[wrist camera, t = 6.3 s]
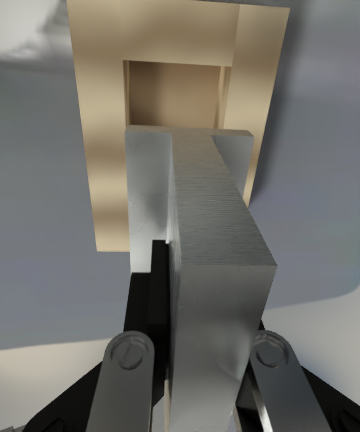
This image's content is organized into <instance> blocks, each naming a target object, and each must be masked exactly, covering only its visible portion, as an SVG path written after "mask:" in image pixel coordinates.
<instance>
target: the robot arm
mask: <svg viewBox="0 0 360 432" xmlns="http://www.w3.org/2000/svg"><path fill="white" fill-rule="evenodd" d="M170 325H171V314H170V274H169V243H166V240H152V254H151V271H150V272H132V274H131V281H130V288H129V295H128V302H127V309H126V316H125V323H124V330H123V333H120V334H118V335H117V336H115V337H114V338H113V339H112V340H111V341H110V342H109V344H108V345H107V348H106V350H105V354H104V358H103V361H102V362H100V363H99V364H98V365H97V366H95V367H94V368H93V369H92V370H90V371H89V372H88V373H87V374H86V375H84V376H83V377H82V378H80V379H79V380H78V381H77V382H76V383H74V384H73V385H72V386H71V387H69V388H68V389H67V390H66V391H64V392H63V393H62V394H61V395H59V396H58V397H57V398H56V399H55V400H53V401H52V402H51V403H50V404H48V405H47V406H46V407H45V408H43V409H42V410H41V411H40V412H38V413H37V414H36V415H35V416H34V417H33V418H32V419H31V420H30V421H29V422H28V423H27V424H26V425H24V426H21V427H18V428H16V429H14V428H13V426H11V427H9V428H6V429H3V430H1V431H0V432H152V421H153V407H154V406H155V405H156V404H157V402H158V401H159V400H160V399H161V398H162V397H163V396H164V388H165V380H167V378H168V361H169V344H170ZM232 412H233V416H234V421H235V425H236V430H237V432H360V406H359V405H358V404H356V403H355V402H353V401H352V400H350V399H349V398H347V397H346V396H345V395H343V394H342V393H340V392H339V391H337V390H336V389H334V388H333V387H332V386H330V385H329V384H327V383H326V382H324V381H322V380H321V379H320V378H319V377H317V376H316V375H314V374H313V373H311V372H310V371H308V370H307V369H306V368H304V367H303V366H301V365H300V363H299V361H298V359H297V357H296V355H295V353H294V351H293V349H292V347H291V345H290V344H289V342H287V341H286V340H285V339H284V338H283V337H282V336H280V335H279V334H277V333H275V332H272V331H269V330H265V328H264V325H263V322H262V320H261V321H260V324H259V327H258V330H257V334H256V337H255V340H254V343H253V347H252V350H251V353H250V356H249V360H248V363H247V366H246V369H245V373H244V376H243V379H242V382H241V386H240V389H239V392H238V395H237V398H236V402H235V405H234V408H233V411H232Z"/></svg>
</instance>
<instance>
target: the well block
mask: <svg viewBox="0 0 360 432" xmlns="http://www.w3.org/2000/svg"><path fill="white" fill-rule="evenodd" d="M66 1H67V9H68V17H69V25H70V33H71V41H72V50H73V58H74V66H75V74H76V82H77V90H78V98H79V106H80V115H81V123H82V131H83V139H84V147H85V155H86V163H87V171H88V179H89V188H90V196H91V204H92V212H93V220H94V228H95V236H96V244H97V251H130V239H129V217H128V195H127V173H126V151H125V129H126V127H127V125H144V126H166V127H188V128H211V129H233V130H248V131H249V132H250V133H251V134H252V135H253V136H254V137H255V138H254V143H253V148H252V153H251V158H250V163H249V169H248V174H247V179H246V184H245V189H244V194H243V200H244V202H245V204H246V206H247V208H248V205H249V200H250V196H251V191H252V186H253V181H254V177H255V172H256V167H257V162H258V158H259V153H260V148H261V144H262V139H263V134H264V129H265V125H266V120H267V115H268V110H269V106H270V101H271V96H272V92H273V87H274V82H275V77H276V73H277V68H278V63H279V58H280V54H281V49H282V44H283V40H284V35H285V30H286V25H287V21H288V16H289V11H290V8H285V7H272V6H259V5H247V4H234V3H221V2H208V1H196V0H66Z"/></svg>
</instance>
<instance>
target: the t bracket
mask: <svg viewBox="0 0 360 432" xmlns="http://www.w3.org/2000/svg"><path fill="white" fill-rule="evenodd" d="M254 138H255V137H254V136H253V135H252V134H251V133H250V132H249V131H248V130H233V129H211V128H188V127H166V126H144V125H127V127H126V129H125V151H126V173H127V195H128V217H129V239H130V261H131V274H132V272H150V271H151V254H152V240H166V243H169V274H170V314H171V325H170V344H169V361H168V378H167V380H165V388H164V432H226V431H227V428H228V424H229V421H230V418H231V415H232V411H233V408H234V405H235V402H236V398H237V395H238V392H239V389H240V386H241V382H242V379H243V376H244V373H245V369H246V366H247V363H248V360H249V356H250V353H251V350H252V347H253V343H254V340H255V337H256V334H257V330H258V327H259V324H260V321H261V317H262V314H263V311H264V308H265V304H266V301H267V298H268V295H269V291H270V288H271V285H272V282H273V279H274V275H275V272H276V269H277V264H276V262H275V260H274V258H273V256H272V254H271V252H270V250H269V248H268V246H267V244H266V243H265V241H264V239H263V237H262V235H261V233H260V231H259V229H258V227H257V225H256V223H255V221H254V219H253V217H252V215H251V213H250V211H249V209H248V208H247V206H246V204H245V202H244V200H243V194H244V189H245V184H246V179H247V174H248V169H249V163H250V158H251V153H252V148H253V143H254Z"/></svg>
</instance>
